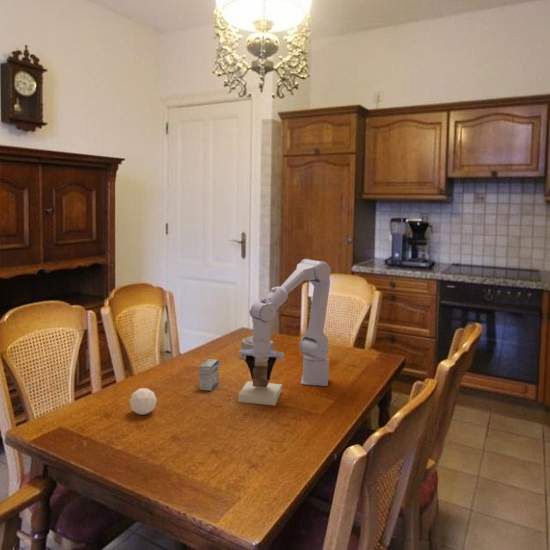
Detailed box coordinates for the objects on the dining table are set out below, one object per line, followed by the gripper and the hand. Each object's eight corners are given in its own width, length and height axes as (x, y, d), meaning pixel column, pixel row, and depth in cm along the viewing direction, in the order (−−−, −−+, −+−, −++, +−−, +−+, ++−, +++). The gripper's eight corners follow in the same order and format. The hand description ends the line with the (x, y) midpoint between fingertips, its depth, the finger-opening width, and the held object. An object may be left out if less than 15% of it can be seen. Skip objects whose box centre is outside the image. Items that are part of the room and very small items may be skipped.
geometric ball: (139, 424, 147) (123, 408, 143) (140, 405, 154) (125, 389, 150) (161, 413, 146) (145, 397, 142) (161, 394, 153) (147, 378, 149)
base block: (281, 392, 168) (281, 384, 168) (275, 406, 156) (275, 397, 156) (247, 389, 170) (247, 381, 170) (238, 403, 158) (238, 394, 158)
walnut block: (268, 382, 165) (269, 365, 164) (266, 387, 160) (266, 369, 159) (255, 381, 165) (255, 364, 164) (252, 386, 161) (252, 368, 160)
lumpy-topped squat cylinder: (262, 364, 195) (262, 343, 193) (235, 358, 201) (235, 337, 200) (275, 357, 203) (276, 337, 202) (250, 352, 210) (250, 332, 209)
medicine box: (211, 391, 167) (211, 366, 165) (199, 390, 167) (199, 365, 166) (218, 383, 174) (218, 359, 173) (206, 381, 175) (206, 358, 174)
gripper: (237, 340, 157) (236, 381, 159) (282, 343, 155) (281, 384, 157) (241, 334, 164) (241, 373, 166) (284, 337, 162) (283, 377, 164)
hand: (260, 378), depth 162 cm, fingers closed on walnut block, 5 cm apart
